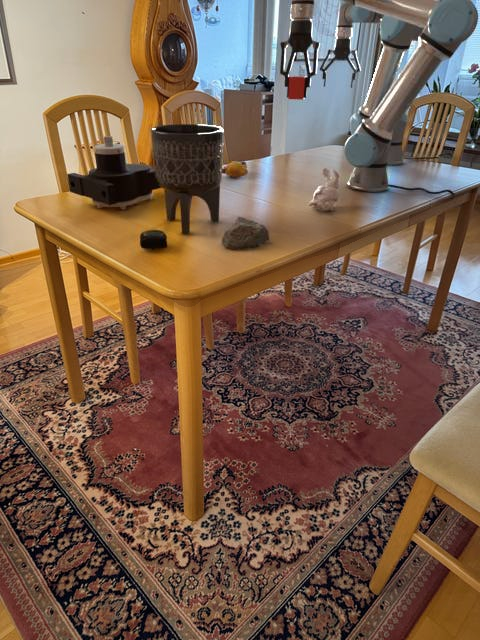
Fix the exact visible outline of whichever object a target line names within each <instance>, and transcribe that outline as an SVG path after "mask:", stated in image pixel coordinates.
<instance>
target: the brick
mask: <svg viewBox="0 0 480 640" xmlns="http://www.w3.org/2000/svg"><path fill="white" fill-rule="evenodd" d="M289 77H290V79H289V96H288V98H287V99H288V100H298V101H299V100H300V101H301V100H305V99H306V98H304V87H305V77H306V75H305V76H302V75H301V76H297V75H296V76H295V75H291V76H289Z"/></svg>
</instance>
